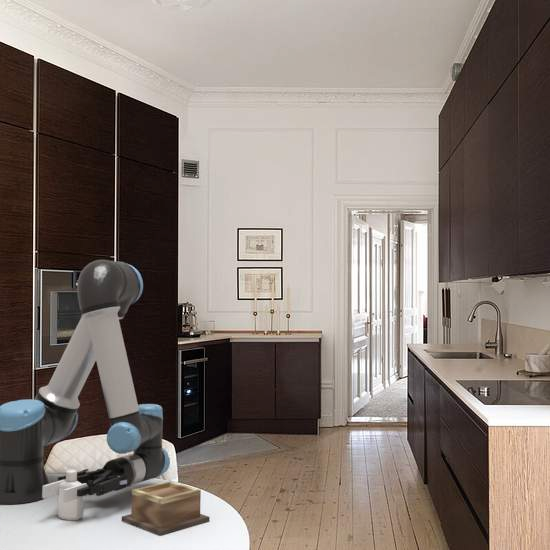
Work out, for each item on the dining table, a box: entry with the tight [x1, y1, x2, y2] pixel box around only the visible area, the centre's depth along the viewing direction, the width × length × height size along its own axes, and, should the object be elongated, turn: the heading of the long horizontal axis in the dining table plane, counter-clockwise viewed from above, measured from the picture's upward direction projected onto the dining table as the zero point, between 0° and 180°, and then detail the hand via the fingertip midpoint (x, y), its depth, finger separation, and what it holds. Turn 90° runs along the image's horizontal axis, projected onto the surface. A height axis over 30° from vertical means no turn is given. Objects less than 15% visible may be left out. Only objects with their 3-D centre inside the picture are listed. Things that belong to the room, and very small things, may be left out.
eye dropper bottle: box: [57, 464, 84, 521], centre depth 159 cm, size 4×6×12 cm
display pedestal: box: [121, 480, 210, 537], centre depth 157 cm, size 14×14×7 cm
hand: (54, 494), depth 154 cm, fingers open, 6 cm apart
